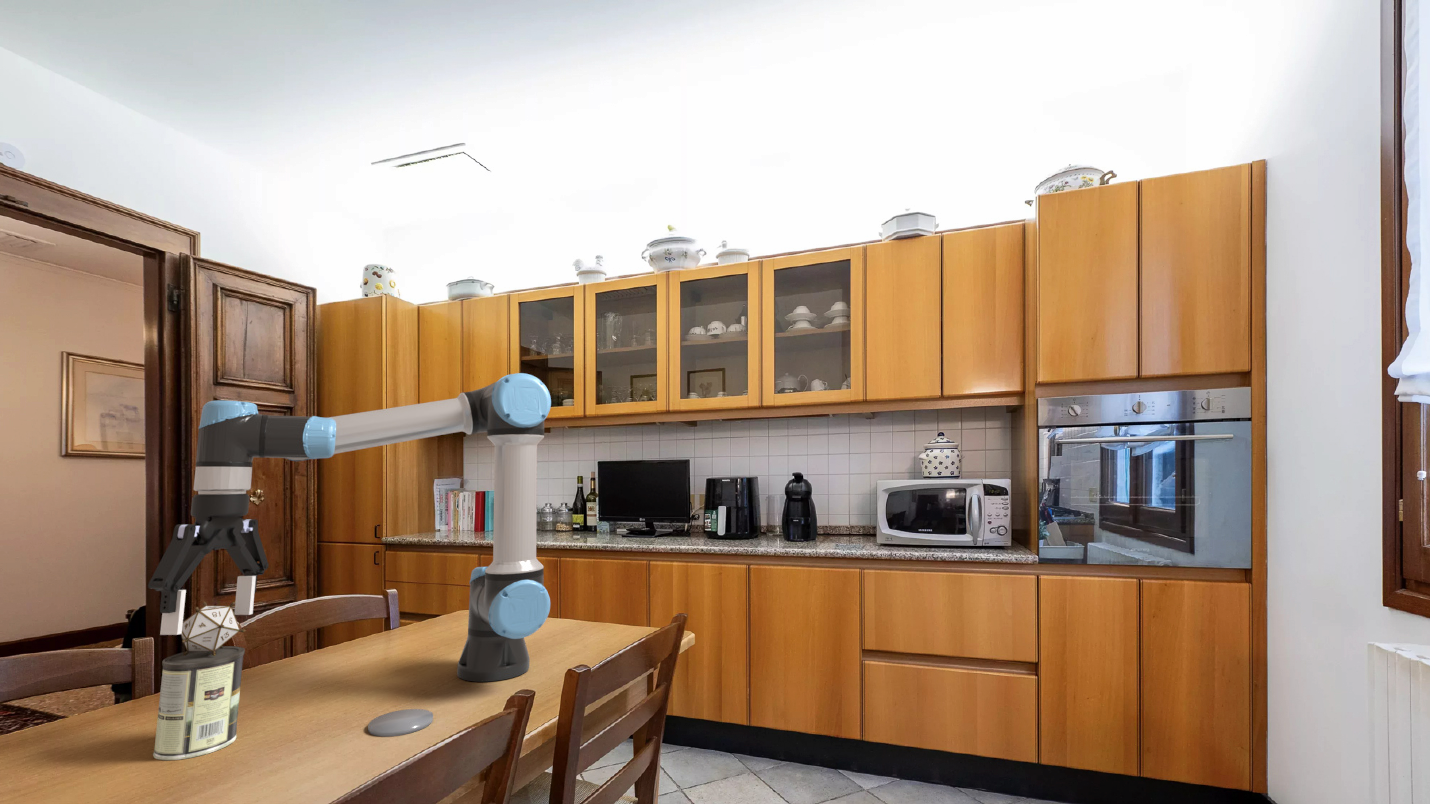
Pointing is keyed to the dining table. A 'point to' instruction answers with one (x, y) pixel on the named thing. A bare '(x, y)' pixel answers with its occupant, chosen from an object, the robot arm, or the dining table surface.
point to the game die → (209, 628)
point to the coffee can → (198, 703)
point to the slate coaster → (400, 722)
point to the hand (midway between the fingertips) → (209, 623)
